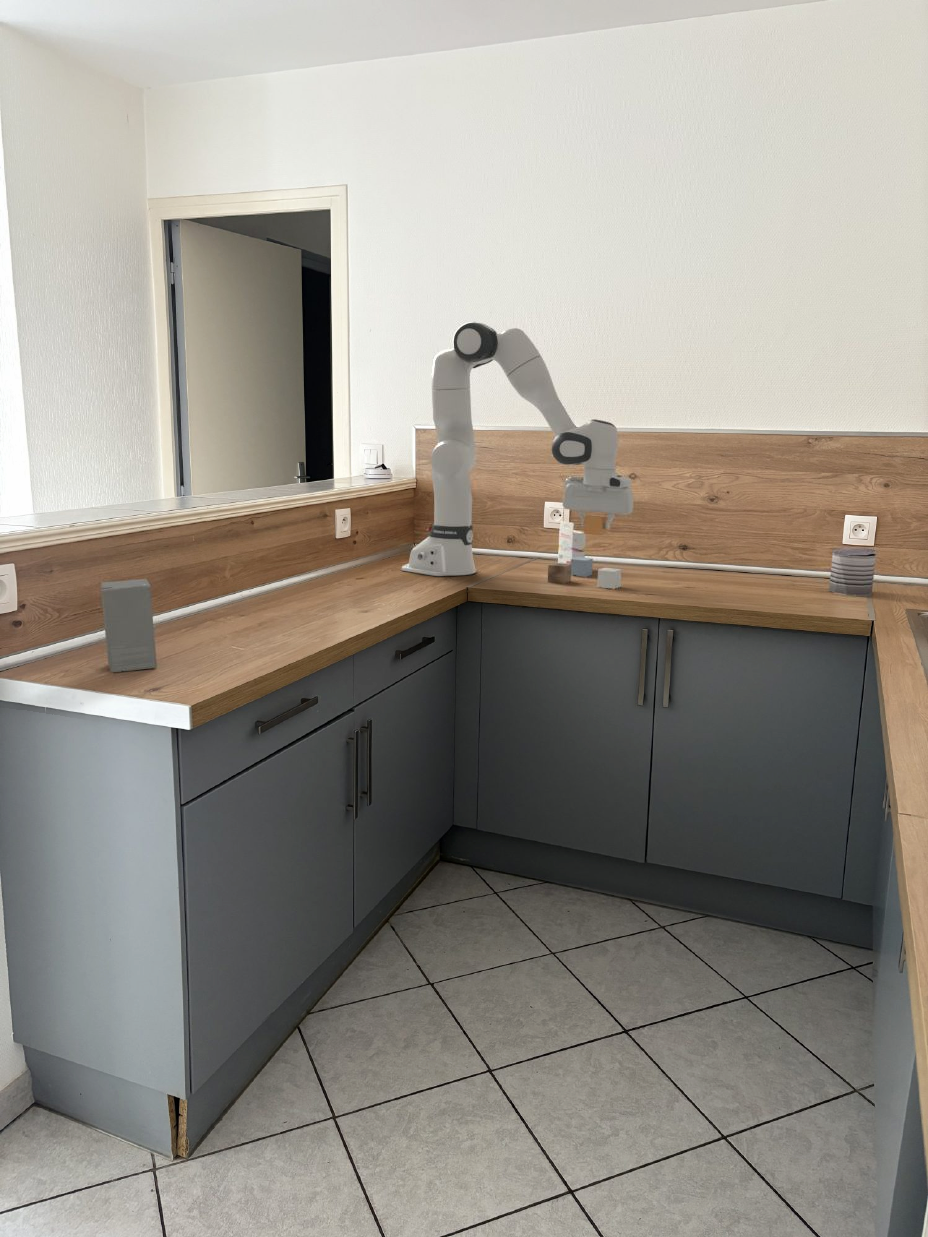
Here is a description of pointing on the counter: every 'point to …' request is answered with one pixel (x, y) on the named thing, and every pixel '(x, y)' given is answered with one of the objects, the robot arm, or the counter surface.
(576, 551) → the ink cartridge box
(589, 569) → the slate cube
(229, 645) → the counter surface
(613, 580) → the grey cube
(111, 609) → the skincare box
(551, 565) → the walnut cube
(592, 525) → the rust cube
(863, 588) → the can
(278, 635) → the counter surface
